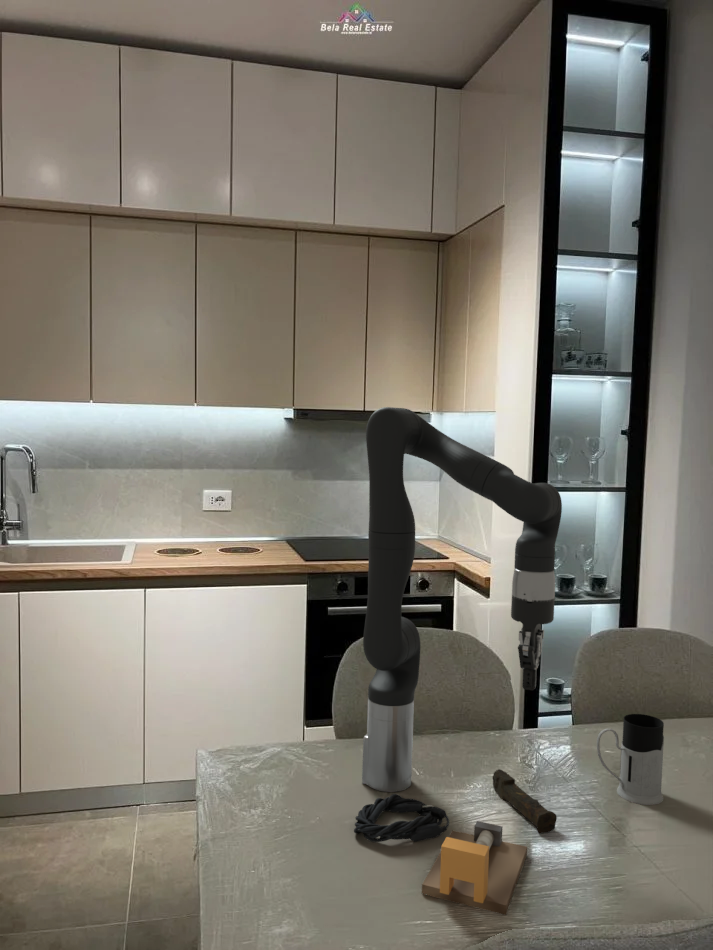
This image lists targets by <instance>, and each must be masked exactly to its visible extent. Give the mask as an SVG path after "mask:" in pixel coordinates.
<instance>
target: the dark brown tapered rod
mask: <svg viewBox="0 0 713 950" xmlns="http://www.w3.org/2000/svg"><path fill="white" fill-rule="evenodd" d="M492 787H493V790H494V791H495V793H496V794H497V796H499V798H500V799H501V800H502V801H507V802H508V803H509V804H510V805H511V806H512V807H514V809H515V810H516V809H517V810H518V812H519V813H520V814H522V815H523V816H524V817H525V818H526V819H527V820H528V821H529V822H531V823H532V824H533V825H534V826H535V827H536V831H537V833H538V834H543V833H545V834H546V833H550V832H553V831H554V829H555V828H556V823H557V817H558V816H557V814H556V813H554V812H553V811H552V810H548V809H546V808H545V807H544V806H543V805H542V804H541V803H540V802H539V801H538V799H535V798H533V797H532V796H531V795H529V794H528V793H527V792H525V791H524V790H523V789H522V788H521V787H519V786H518V785H517V784H516V780H515V778H513V777H512V776H511V775H510V774H509V773H508V772H506V771H503V770H502V769H499V768H498V769H496V770H495V771H494V772H493V775H492Z"/></svg>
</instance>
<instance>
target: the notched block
mask: <svg viewBox="0 0 713 950" xmlns="http://www.w3.org/2000/svg"><path fill="white" fill-rule="evenodd" d="M440 849H441V850H440V851H441V869H440V893H443V894H447V895H449V893H450V891H451V889H452V887H453V885H454V879H458V880H462V881H466V882H470V883H474V901H475V902H479V903H483V902H484V900H485V897H486V895H487V889H488V864H489V846H485V845H481V844H477V843H472V842H468V841H463V840H459V839H454V838H450V837H449V836H446V837H445V839H444V841H443V842H442V844H441V847H440Z"/></svg>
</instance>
